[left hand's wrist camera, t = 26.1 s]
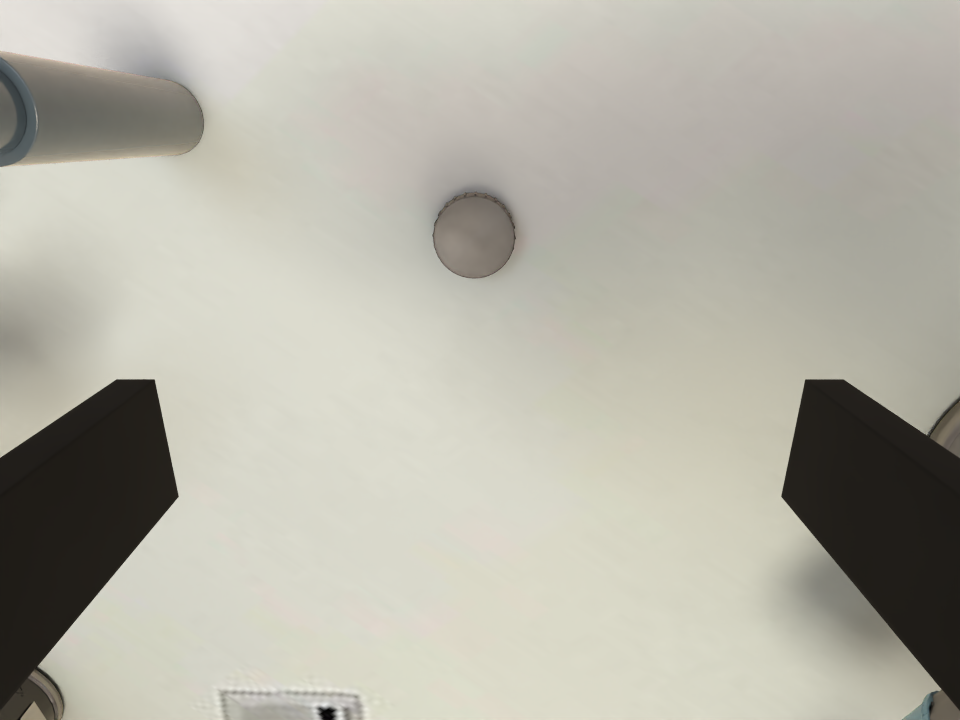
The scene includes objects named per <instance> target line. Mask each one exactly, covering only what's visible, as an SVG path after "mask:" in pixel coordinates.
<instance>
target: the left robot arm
mask: <svg viewBox="0 0 960 720" xmlns="http://www.w3.org/2000/svg"><path fill="white" fill-rule="evenodd" d="M178 497H179V496H178V491H177V486H176V481H175V477H174V472H173V467H172V462H171V457H170V452H169V447H168V442H167V438H166V433H165V428H164V423H163V418H162V413H161V408H160V403H159V398H158V394H157V389H156V384H155V380H115V381H114V382H112V383H111V384H109V385H108V386H106V387H105V388H103V389H102V390H100V391H99V392H97V393H96V394H94V395H93V396H91V397H90V398H88V399H87V400H86V401H84V402H83V403H81V404H80V405H78V406H77V407H75V408H74V409H72V410H71V411H69V412H68V413H66V414H65V415H63V416H62V417H60V418H59V419H57V420H56V421H54V422H53V423H51V424H50V425H48V426H47V427H45V428H44V429H42V430H41V431H40V432H38V433H37V434H35V435H34V436H32V437H31V438H29V439H28V440H26V441H25V442H23V443H22V444H20V445H19V446H17V447H16V448H14V449H13V450H11V451H10V452H8V453H7V454H5V455H4V456H2V457H1V458H0V711H1V709H2V708H3V707H4V706H5V705H6V703H7V702H8V701H9V700H10V699H11V697H12V696H13V695H14V694H15V693H16V691H17V690H18V689H19V688H20V687H21V685H22V684H23V683H24V682H25V681H26V679H27V678H28V677H29V676H30V675H31V673H32V672H33V671H34V670H35V669H36V667H37V666H38V665H39V664H40V663H41V661H42V660H43V659H44V658H45V657H46V655H47V654H48V653H49V652H50V651H51V649H52V648H53V647H54V646H55V645H56V643H57V642H58V641H59V640H60V639H61V637H62V636H63V635H64V634H65V633H66V631H67V630H68V629H69V628H70V627H71V625H72V624H73V623H74V622H75V621H76V619H77V618H78V617H79V616H80V615H81V613H82V612H83V611H84V610H85V609H86V607H87V606H88V605H89V604H90V603H91V601H92V600H93V599H94V598H95V597H96V595H97V594H98V593H99V592H100V590H101V589H102V588H103V587H104V586H105V584H106V583H107V582H108V581H109V580H110V578H111V577H112V576H113V575H114V574H115V572H116V571H117V570H118V569H119V568H120V566H121V565H122V564H123V563H124V562H125V560H126V559H127V558H128V557H129V556H130V554H131V553H132V552H133V551H134V550H135V548H136V547H137V546H138V545H139V544H140V542H141V541H142V540H143V539H144V538H145V536H146V535H147V534H148V533H149V532H150V530H151V529H152V528H153V527H154V526H155V524H156V523H157V522H158V521H159V520H160V518H161V517H162V516H163V515H164V514H165V512H166V511H167V510H168V509H169V508H170V506H171V505H172V504H173V503H174V502H175V500H176V499H177V498H178ZM781 497H782V498H783V499H784V500H785V502H786V503H787V504H788V505H789V506H790V508H791V509H792V510H793V511H794V512H795V514H796V515H797V516H798V517H799V518H800V520H801V521H802V522H803V523H804V524H805V526H806V527H807V528H808V529H809V530H810V532H811V533H812V534H813V535H814V536H815V538H816V539H817V540H818V541H819V542H820V544H821V545H822V546H823V547H824V548H825V550H826V551H827V552H828V553H829V554H830V556H831V557H832V558H833V559H834V560H835V562H836V563H837V564H838V565H839V566H840V568H841V569H842V570H843V571H844V572H845V574H846V575H847V576H848V577H849V578H850V580H851V581H852V582H853V583H854V584H855V586H856V587H857V588H858V589H859V590H860V592H861V593H862V594H863V595H864V597H865V598H866V599H867V600H868V601H869V603H870V604H871V605H872V606H873V607H874V609H875V610H876V611H877V612H878V613H879V615H880V616H881V617H882V618H883V619H884V621H885V622H886V623H887V624H888V625H889V627H890V628H891V629H892V630H893V631H894V633H895V634H896V635H897V636H898V637H899V639H900V640H901V641H902V642H903V643H904V645H905V646H906V647H907V648H908V649H909V651H910V652H911V653H912V654H913V655H914V657H915V658H916V659H917V660H918V661H919V663H920V664H921V665H922V666H923V667H924V669H925V670H926V671H927V672H928V673H929V675H930V676H931V677H932V678H933V679H934V681H935V682H936V683H937V684H938V685H939V687H940V688H941V689H942V690H941V691H935V692H931V693H930V694H928V695H927V696H926V697H925V699H924V701H923V703H922V704H921V705H920V706H919V707H917V708H916V709H915V710H914V711H912V712H911V713H910V714H909V715H907V716H906V717H905V718H903V719H902V720H960V401H959V402H958V403H957V404H956V405H955V406H954V407H953V408H952V409H951V410H950V411H949V412H948V413H947V414H946V415H945V416H944V417H943V419H942V420H941V421H940V422H939V424H938V425H937V427H936V428H935V429H934V431H933V433H932V434H931V436H930V438H929V437H928V436H926V435H925V434H923V433H922V432H920V431H919V430H918V429H916V428H915V427H913V426H912V425H910V424H909V423H907V422H906V421H904V420H903V419H901V418H900V417H898V416H897V415H895V414H894V413H892V412H891V411H889V410H888V409H886V408H885V407H883V406H882V405H880V404H879V403H877V402H876V401H874V400H873V399H872V398H870V397H869V396H867V395H866V394H864V393H863V392H861V391H860V390H858V389H857V388H855V387H854V386H852V385H851V384H849V383H848V382H846V381H845V380H805V384H804V389H803V394H802V398H801V403H800V408H799V413H798V418H797V423H796V428H795V433H794V438H793V442H792V447H791V452H790V457H789V462H788V467H787V472H786V477H785V481H784V486H783V491H782V496H781Z"/></svg>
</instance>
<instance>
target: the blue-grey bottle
mask: <svg viewBox="0 0 960 720" xmlns="http://www.w3.org/2000/svg"><path fill="white" fill-rule="evenodd" d="M202 132H203V115H202V112H201V109H200V106H199V104H198V102H197V101H196V99H195V98H194V96H193V95H192V94H191V93H190V92H189V91H188V90H187V89H186V88H184V87H183V86H181V85H180V84H178V83H176V82H173V81H170V80H165V79H159V78H153V77H147V76H142V75H136V74H130V73H124V72H119V71H113V70H107V69H102V68H96V67H90V66H84V65H79V64H73V63H67V62H62V61H56V60H50V59H44V58H39V57H33V56H27V55H21V54H16V53H10V52H4V51H0V167H6V166H21V165H36V164H50V163H65V162H80V161H95V160H110V159H125V158H140V157H155V156H169V155H180V154H184V153H186V152H188V151H190V150H192V149H193V148H194V147H195V146H196V145H197V143H198V142H199V140H200V138H201V136H202Z"/></svg>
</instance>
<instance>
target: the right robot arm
mask: <svg viewBox="0 0 960 720" xmlns="http://www.w3.org/2000/svg"><path fill="white" fill-rule="evenodd" d="M62 713H63V704H62V700H61V697H60V695H59V693H58V691H57V689H56V688H55V686H54V685H53V684H52V683H51V682H50V681H49V680H48V679H47V678H46V677H45V676H44V675H43V674H41V673H40V672H38V671H37V670H34V671H33V672H32V673H31V675H30V676H29V677H28V678H27V679H26V681H25V682H24V683H23V684H22V685H21V687H20V688H19V689H18V690H17V691H16V693H15V694H14V695H13V696H12V697H11V699H10V700H9V701H8V702H7V703H6V705H5V706H4V707H3V708H2V709H1V711H0V720H60V719H61V717H62Z"/></svg>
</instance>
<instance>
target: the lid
mask: <svg viewBox="0 0 960 720" xmlns="http://www.w3.org/2000/svg"><path fill="white" fill-rule="evenodd" d="M438 216H439V217H438V219H437V220H436V222H435V224H434V226H435V228H434V233H433V239H434V247H435V250H436V253H437V255H438V257H439V259H440V260H441V262H442V263H443V264H444V265H445V266H446V267H447V268H448V269H449V270H450V271H452V272H453V273H455V274H457V275H460V276H462V277H467V278H482V277H486V276H489V275H491V274H493V273H495V272H497V271H498V270H499V269H500V268H502V267H503V266H504V265H505V263H506V262H507V261H508V259H509V257H510V256H511V253H512V251H513V250H514V241H515V239H516V237H515V233H514V228H515V226H514V224H513V223H512V221H511V219H510V218H511V215H510V213H508V212H507V210H506V209H505V206H504V204H503V205H502V204H501V203H500V202H499V201H497V199H496V198H492V197H491V196H488V195H487V193H485V194H481V193H476V192H475V193H467V194H466V193H464V194H463V195H460V196H458V197H456V196H455V197H454V199H453V200H451V201H450V202H449V203H448V202H447V203H446V205H445V207H444V209H443V210H442V211H440V212H439V214H438Z"/></svg>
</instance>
